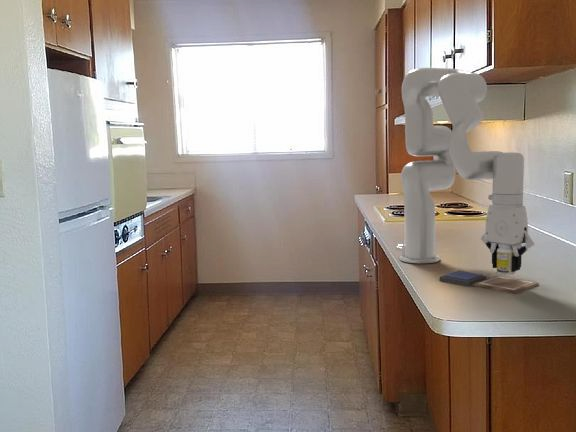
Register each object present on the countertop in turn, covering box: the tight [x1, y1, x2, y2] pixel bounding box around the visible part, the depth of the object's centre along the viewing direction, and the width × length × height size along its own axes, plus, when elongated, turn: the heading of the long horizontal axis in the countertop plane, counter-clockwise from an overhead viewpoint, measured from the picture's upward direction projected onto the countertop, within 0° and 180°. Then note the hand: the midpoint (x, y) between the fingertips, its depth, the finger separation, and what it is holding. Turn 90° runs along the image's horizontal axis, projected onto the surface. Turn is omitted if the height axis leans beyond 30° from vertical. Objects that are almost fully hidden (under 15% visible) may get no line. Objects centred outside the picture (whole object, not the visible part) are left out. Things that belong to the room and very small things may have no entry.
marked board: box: [472, 275, 540, 295], centre depth 161 cm, size 12×12×1 cm
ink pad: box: [439, 270, 488, 287], centre depth 167 cm, size 9×9×2 cm
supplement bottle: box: [496, 244, 517, 276], centre depth 160 cm, size 5×5×8 cm
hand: (506, 268), depth 160 cm, fingers closed on supplement bottle, 4 cm apart
